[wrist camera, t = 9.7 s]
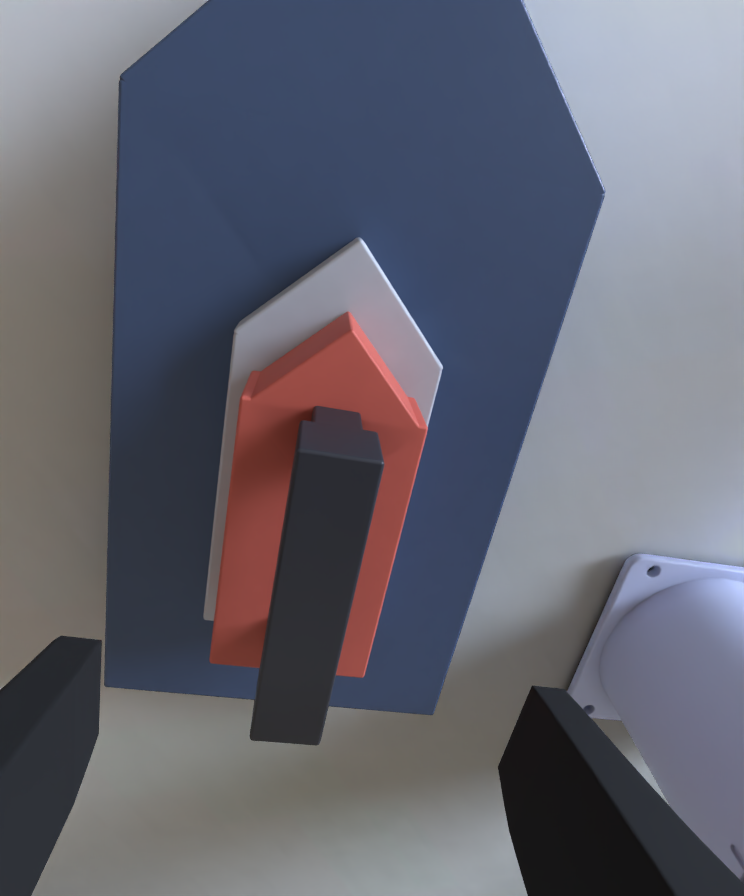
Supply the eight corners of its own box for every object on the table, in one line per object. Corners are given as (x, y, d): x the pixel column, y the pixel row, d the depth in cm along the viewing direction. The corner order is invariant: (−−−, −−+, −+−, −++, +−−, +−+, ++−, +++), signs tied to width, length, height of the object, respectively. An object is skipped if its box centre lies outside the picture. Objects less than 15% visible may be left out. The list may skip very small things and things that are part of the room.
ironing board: (631, -48, 14) (706, -106, 11) (420, 653, 23) (433, 716, 20) (170, -189, 12) (126, -298, 10) (131, 623, 21) (102, 688, 18)
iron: (371, 616, 18) (390, 784, 13) (208, 598, 17) (159, 768, 12) (461, 258, 14) (541, 295, 9) (251, 214, 13) (202, 226, 8)
